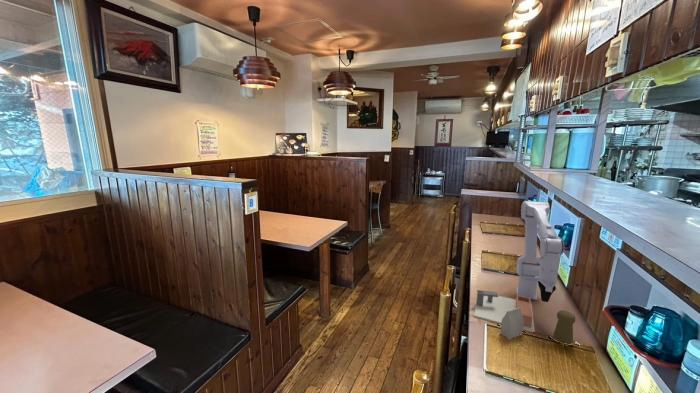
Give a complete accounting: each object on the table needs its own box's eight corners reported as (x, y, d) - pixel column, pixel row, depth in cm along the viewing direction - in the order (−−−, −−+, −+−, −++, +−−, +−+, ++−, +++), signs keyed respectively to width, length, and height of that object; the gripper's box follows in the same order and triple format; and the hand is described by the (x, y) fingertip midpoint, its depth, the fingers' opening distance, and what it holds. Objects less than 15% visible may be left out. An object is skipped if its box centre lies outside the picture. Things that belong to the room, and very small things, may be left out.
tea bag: (522, 334, 105) (525, 310, 103) (509, 339, 102) (512, 314, 101) (513, 329, 108) (515, 305, 106) (500, 333, 106) (503, 309, 104)
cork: (576, 347, 98) (581, 318, 96) (557, 345, 100) (561, 316, 98) (567, 336, 104) (571, 308, 102) (549, 334, 105) (552, 307, 103)
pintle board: (478, 292, 135) (479, 279, 134) (531, 304, 125) (532, 290, 124) (473, 316, 116) (474, 301, 115) (534, 333, 106) (536, 317, 105)
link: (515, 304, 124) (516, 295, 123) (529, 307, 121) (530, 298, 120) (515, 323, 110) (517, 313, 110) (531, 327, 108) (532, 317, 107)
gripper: (535, 259, 118) (531, 290, 120) (537, 273, 105) (533, 307, 108) (556, 263, 114) (551, 294, 117) (561, 277, 102) (556, 312, 104)
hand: (544, 300), depth 112 cm, fingers closed
